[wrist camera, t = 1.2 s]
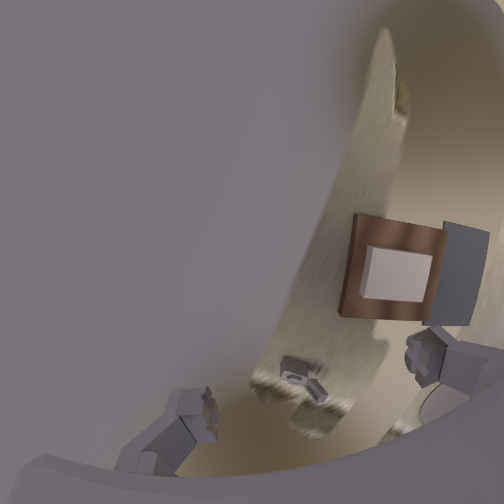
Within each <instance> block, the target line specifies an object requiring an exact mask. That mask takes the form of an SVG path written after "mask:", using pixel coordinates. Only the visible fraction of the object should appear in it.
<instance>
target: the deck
mask: <svg viewBox="0 0 504 504" xmlns="http://www.w3.org/2000/svg"><path fill="white" fill-rule="evenodd" d="M446 238H447V231H446V230H441V229H436V228H431V227H426V226H421V225H416V224H411V223H405V222H400V221H394V220H388V219H383V218H377V217H371V216H365V215H358V214H354V222H353V230H352V237H351V244H350V250H349V257H348V263H347V269H346V275H345V280H344V285H343V291H342V296H341V301H340V306H339V310H338V312H339V314H340V316H341V317H351V318H366V319H383V320H385V319H386V320H405V321H428V319H429V316H430V312H431V309H432V305H433V301H434V297H435V293H436V289H437V285H438V281H439V276H440V272H441V267H442V262H443V256H444V251H445V245H446ZM367 245H372V246H380V247H387V248H394V249H401V250H408V251H414V252H421V253H426V254H428V255H431V256H432V262H431V267H430V272H429V276H428V281H427V285H426V290H425V294H424V298H423V302H410V301H395V300H382V299H370V298H363V296H362V295H361V294H360V293H359V290H360V285H361V280H362V275H363V269H364V263H365V258H366V252H367Z"/></svg>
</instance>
